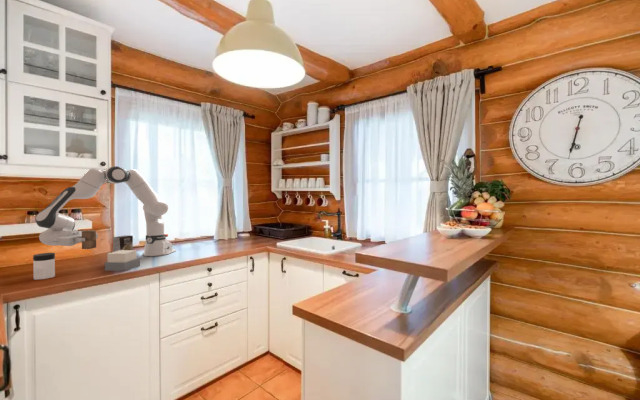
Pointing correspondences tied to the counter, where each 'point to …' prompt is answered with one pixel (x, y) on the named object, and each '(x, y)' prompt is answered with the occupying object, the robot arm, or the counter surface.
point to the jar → (44, 265)
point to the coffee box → (122, 243)
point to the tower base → (122, 265)
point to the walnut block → (89, 239)
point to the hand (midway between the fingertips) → (90, 238)
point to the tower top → (122, 256)
